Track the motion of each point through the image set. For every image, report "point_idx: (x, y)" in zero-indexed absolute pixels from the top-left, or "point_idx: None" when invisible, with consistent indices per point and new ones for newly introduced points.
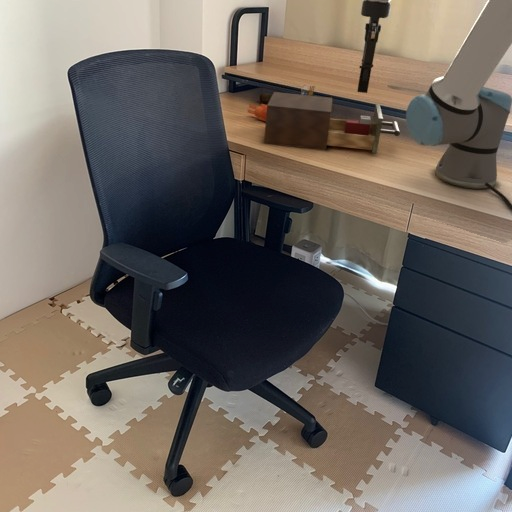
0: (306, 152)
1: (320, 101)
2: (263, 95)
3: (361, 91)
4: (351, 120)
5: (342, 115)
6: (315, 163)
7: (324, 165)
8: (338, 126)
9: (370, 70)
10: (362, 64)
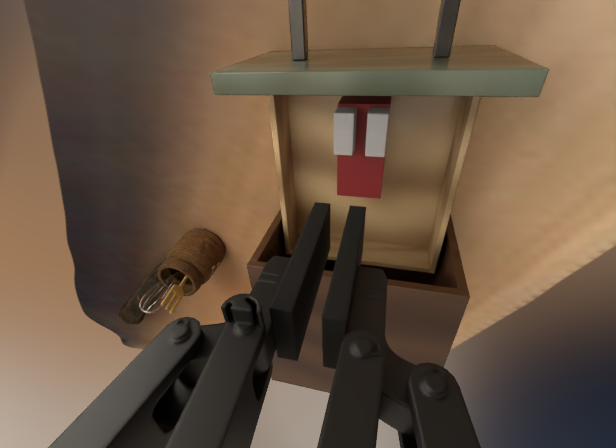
0: (478, 258)
1: (320, 304)
2: (137, 319)
3: (363, 238)
4: (350, 179)
5: (95, 148)
6: (582, 246)
7: (605, 225)
8: (291, 187)
9: (348, 315)
10: (271, 369)
